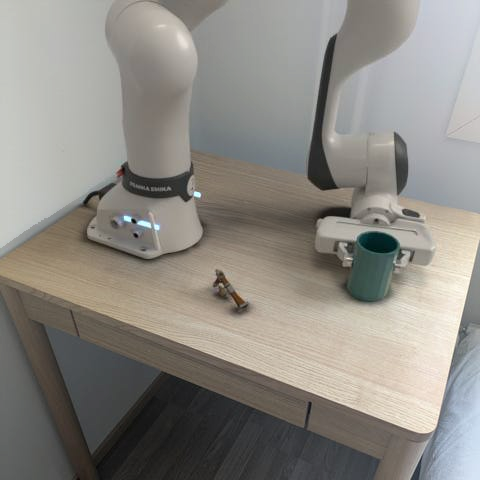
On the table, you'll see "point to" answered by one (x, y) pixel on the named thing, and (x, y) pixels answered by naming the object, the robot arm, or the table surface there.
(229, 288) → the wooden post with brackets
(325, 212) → the coaster
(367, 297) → the cup
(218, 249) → the table surface
